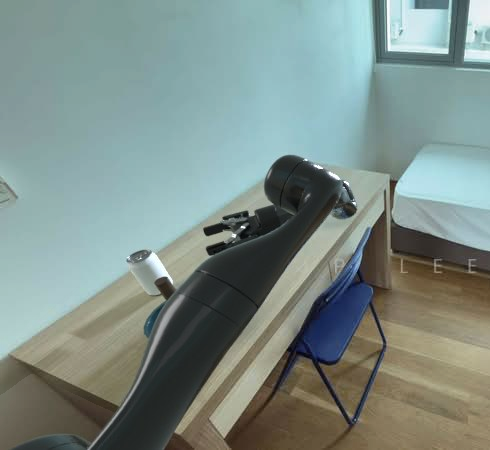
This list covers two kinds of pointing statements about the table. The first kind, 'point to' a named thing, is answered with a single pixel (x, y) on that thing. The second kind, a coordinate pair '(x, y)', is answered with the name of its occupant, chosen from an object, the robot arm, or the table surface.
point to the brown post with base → (165, 287)
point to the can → (147, 270)
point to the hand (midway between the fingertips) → (205, 241)
